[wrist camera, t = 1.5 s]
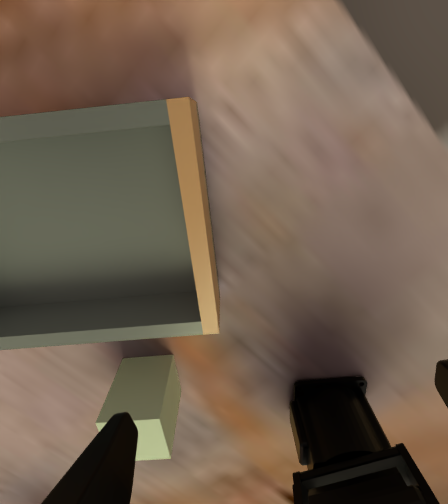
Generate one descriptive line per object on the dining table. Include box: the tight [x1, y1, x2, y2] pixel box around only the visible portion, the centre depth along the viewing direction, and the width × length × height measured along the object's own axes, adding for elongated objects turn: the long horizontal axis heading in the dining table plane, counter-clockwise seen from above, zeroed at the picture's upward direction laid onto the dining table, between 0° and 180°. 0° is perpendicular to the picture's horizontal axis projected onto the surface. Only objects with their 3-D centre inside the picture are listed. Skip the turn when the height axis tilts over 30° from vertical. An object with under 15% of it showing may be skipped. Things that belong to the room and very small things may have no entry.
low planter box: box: [0, 97, 220, 350], centre depth 18 cm, size 18×13×5 cm
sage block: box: [96, 355, 181, 461], centre depth 23 cm, size 4×4×6 cm
